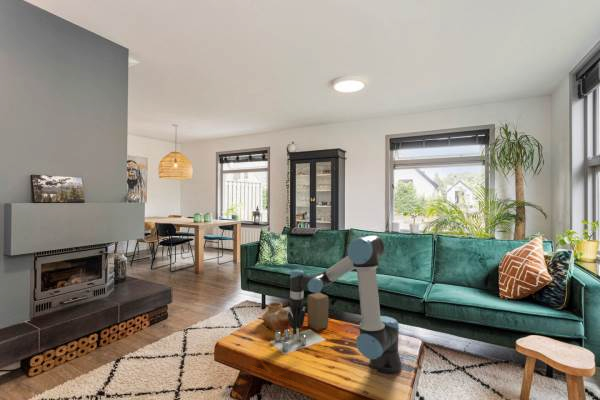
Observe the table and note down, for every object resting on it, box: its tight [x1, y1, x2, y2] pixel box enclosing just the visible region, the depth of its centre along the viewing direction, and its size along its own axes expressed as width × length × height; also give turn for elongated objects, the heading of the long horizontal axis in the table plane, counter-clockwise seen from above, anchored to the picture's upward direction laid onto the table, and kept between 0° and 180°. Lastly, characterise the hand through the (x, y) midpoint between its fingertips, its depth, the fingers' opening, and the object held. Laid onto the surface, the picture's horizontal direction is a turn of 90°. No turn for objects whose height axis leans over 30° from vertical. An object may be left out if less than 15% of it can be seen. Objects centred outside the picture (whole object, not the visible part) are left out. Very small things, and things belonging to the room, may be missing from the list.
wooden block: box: [307, 292, 329, 331], centre depth 186 cm, size 10×10×20 cm
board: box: [269, 328, 327, 355], centre depth 165 cm, size 16×28×1 cm, turn 125°
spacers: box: [274, 329, 306, 353], centre depth 163 cm, size 14×17×5 cm
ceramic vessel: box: [262, 301, 293, 334], centre depth 183 cm, size 14×26×15 cm, turn 37°
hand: (296, 339), depth 165 cm, fingers closed
